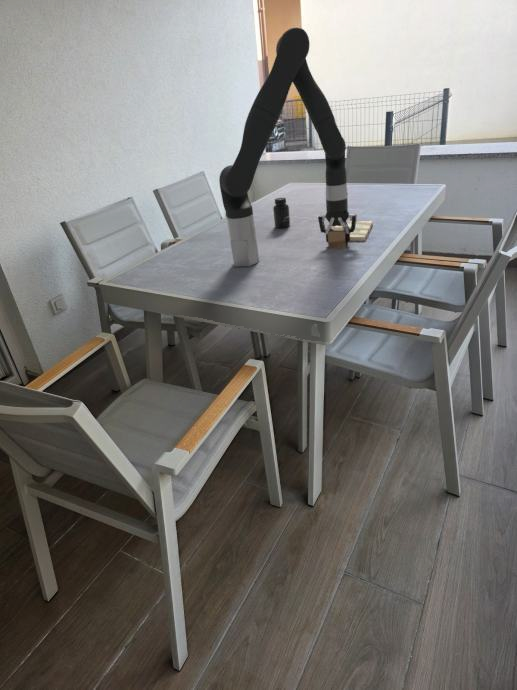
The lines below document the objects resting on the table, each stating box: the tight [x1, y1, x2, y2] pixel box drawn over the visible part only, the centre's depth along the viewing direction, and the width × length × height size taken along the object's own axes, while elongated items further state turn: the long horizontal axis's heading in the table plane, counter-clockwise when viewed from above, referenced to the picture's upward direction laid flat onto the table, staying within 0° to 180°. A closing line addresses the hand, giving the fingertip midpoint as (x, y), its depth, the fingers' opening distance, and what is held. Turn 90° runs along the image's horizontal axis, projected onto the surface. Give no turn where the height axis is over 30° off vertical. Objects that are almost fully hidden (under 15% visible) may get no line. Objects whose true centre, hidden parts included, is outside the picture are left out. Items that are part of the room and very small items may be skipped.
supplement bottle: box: [272, 197, 291, 229], centre depth 193 cm, size 7×7×12 cm
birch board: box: [334, 220, 374, 242], centre depth 176 cm, size 20×14×2 cm
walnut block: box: [327, 226, 348, 249], centre depth 164 cm, size 6×6×6 cm
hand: (338, 242), depth 165 cm, fingers closed on walnut block, 6 cm apart
